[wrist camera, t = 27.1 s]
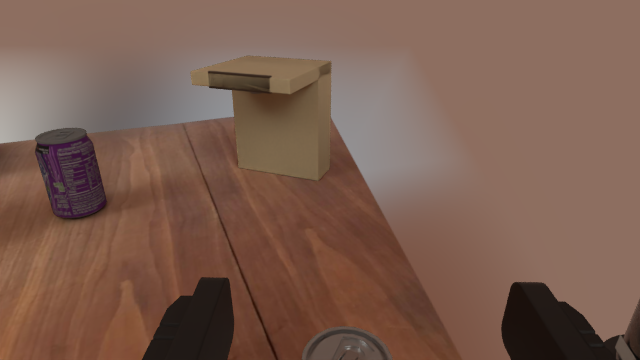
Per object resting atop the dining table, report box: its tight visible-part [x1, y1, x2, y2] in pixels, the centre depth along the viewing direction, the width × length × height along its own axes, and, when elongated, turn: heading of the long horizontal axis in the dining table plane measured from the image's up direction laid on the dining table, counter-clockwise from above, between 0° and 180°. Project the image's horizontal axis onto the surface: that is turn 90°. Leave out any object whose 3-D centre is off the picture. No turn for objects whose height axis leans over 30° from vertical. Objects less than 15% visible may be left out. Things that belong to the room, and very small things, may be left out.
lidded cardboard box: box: [191, 56, 331, 181], centre depth 71 cm, size 20×16×20 cm
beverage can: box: [35, 128, 107, 218], centre depth 60 cm, size 7×7×12 cm
